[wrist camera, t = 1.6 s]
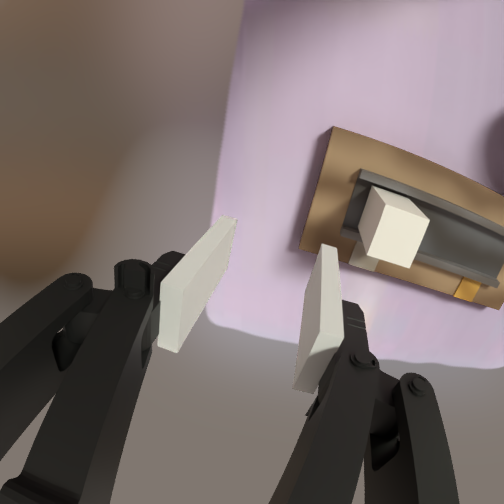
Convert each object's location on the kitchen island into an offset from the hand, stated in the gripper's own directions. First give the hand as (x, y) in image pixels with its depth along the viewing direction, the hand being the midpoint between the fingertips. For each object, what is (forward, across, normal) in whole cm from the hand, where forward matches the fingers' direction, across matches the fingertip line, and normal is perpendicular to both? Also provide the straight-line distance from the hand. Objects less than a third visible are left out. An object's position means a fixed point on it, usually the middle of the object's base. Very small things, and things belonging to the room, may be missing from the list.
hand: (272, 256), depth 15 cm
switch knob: (+16, +9, 0) cm, 19 cm away
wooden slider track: (+19, +16, 0) cm, 25 cm away
